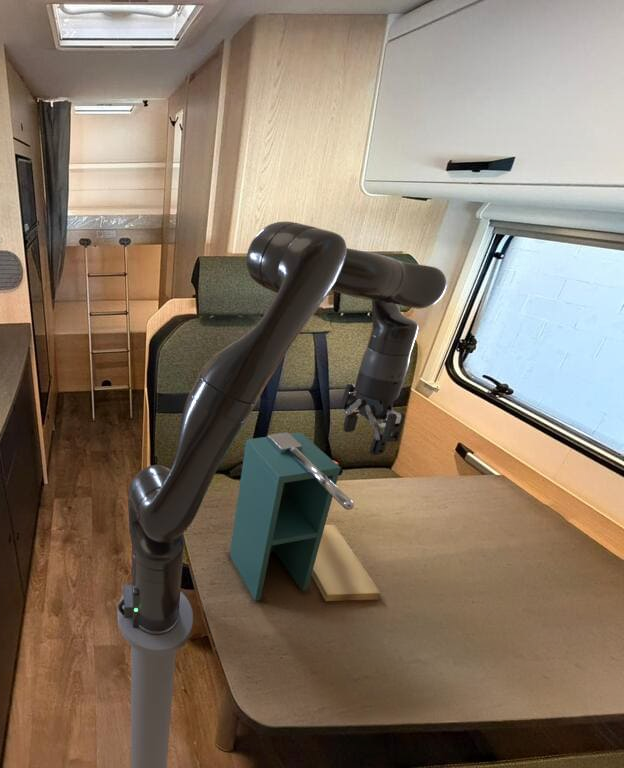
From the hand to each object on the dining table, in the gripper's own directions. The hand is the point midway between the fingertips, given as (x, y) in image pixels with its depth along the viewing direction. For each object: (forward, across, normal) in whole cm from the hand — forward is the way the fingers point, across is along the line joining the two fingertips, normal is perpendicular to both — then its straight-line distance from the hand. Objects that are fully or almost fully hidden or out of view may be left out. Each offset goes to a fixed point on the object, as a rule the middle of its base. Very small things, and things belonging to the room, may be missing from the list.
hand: (361, 442), depth 87 cm
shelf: (+29, +6, -19) cm, 35 cm away
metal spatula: (-3, +11, -19) cm, 22 cm away
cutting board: (+29, +5, -4) cm, 30 cm away
